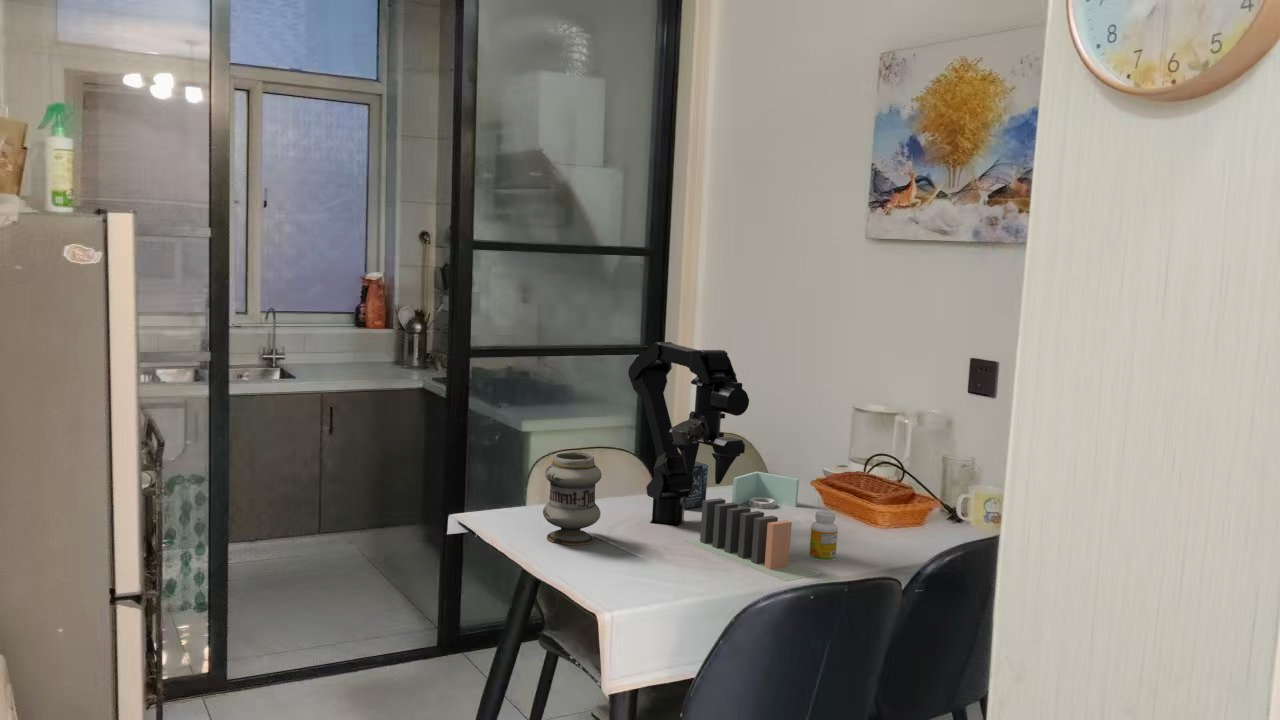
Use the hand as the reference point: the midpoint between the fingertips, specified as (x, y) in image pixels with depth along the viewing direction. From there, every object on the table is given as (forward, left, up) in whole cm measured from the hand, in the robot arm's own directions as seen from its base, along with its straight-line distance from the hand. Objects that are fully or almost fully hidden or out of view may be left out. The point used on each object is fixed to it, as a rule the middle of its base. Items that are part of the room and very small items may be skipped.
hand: (703, 479), depth 227 cm
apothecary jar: (-25, -13, -13) cm, 31 cm away
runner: (+13, -12, -13) cm, 22 cm away
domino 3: (+9, -9, -12) cm, 18 cm away
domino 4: (+12, -11, -12) cm, 21 cm away
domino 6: (+19, -17, -12) cm, 28 cm away
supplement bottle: (+27, -5, -13) cm, 30 cm away
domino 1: (+3, -4, -12) cm, 13 cm away
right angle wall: (+10, +37, -14) cm, 41 cm away
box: (-8, +28, -13) cm, 32 cm away
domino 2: (+6, -6, -12) cm, 15 cm away
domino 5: (+16, -14, -12) cm, 24 cm away
